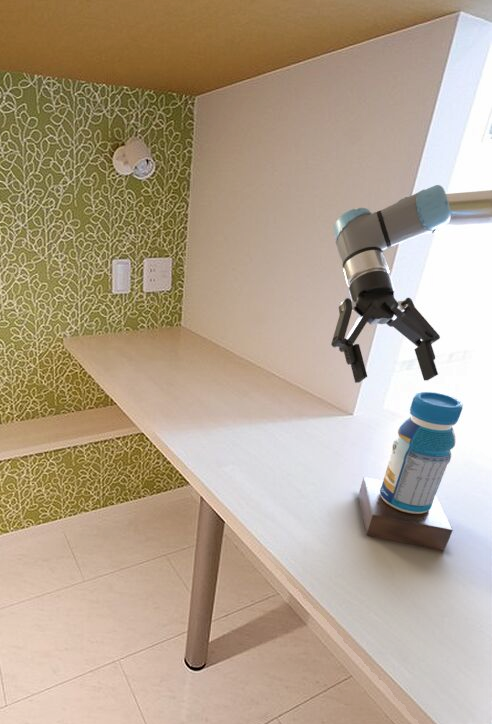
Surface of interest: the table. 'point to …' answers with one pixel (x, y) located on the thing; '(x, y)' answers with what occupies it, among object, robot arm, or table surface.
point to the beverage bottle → (421, 453)
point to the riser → (402, 520)
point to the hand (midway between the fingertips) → (396, 378)
